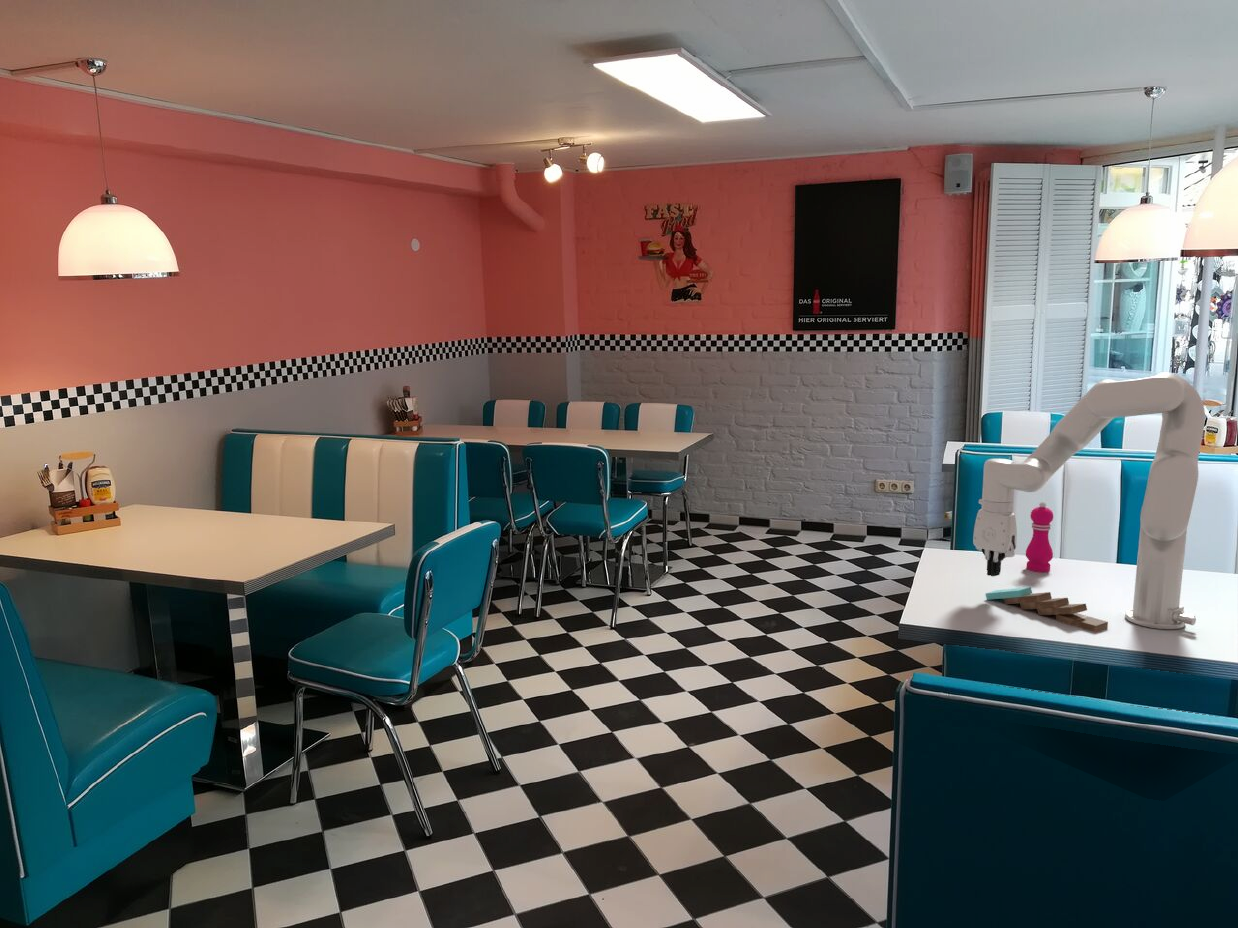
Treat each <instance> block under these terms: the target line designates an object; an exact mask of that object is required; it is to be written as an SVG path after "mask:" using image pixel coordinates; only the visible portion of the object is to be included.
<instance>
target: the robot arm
mask: <svg viewBox="0 0 1238 928" xmlns="http://www.w3.org/2000/svg"><path fill="white" fill-rule="evenodd" d="M1205 413H1206V412H1205V406H1204V402H1203V400H1202V397H1201V395H1200V394H1199V392H1198V390H1197V389H1196V388H1195V387H1194V386H1193V385H1192V383H1190V382H1188V381H1187V380H1186V379H1184V378H1182V377H1181V376H1179V375H1177V374H1176V373H1173V372H1168V371H1167V372H1163V371H1162V372H1158V373H1155V374H1153V375H1152V376H1150V377H1142V378H1136V379H1127V380H1119V381H1118V380H1114V379H1104V380H1100V381H1098V382H1096V383H1095V384H1093V386H1091V388H1090V389H1089V390H1088V391H1087V392H1086V393H1085V394H1084V395H1083V396H1082V397H1081V398H1080V399H1079V400H1078V401H1077V402H1076V403H1075V405H1074V406H1073V407H1072V408H1071V409H1070V410H1069V411H1068V412H1067V413H1066V414H1065V415H1064V416H1063V417H1062V418H1061V419H1060V420H1059V421H1058V422H1057V423H1056V424H1055V425H1054V427H1053V428H1052V430H1051V432H1050V433H1049V434H1048V436H1047V437H1046V438H1045V439H1044V440H1043V441H1042V442H1041V443H1040V444H1039V446H1037V447H1036V449H1034V450H1033V451H1032V452H1031V454H1030V455H1029V456H1027V458H1026V459H1025V460H1024V461H1022V462H1020V463H1018V462H1016V463H1015V462H1014V461H1013V460H1011V459H1007V458H988V459H987V460H985V462H984V465H983V476H982V479H983V480H982V495H981V497H982V498H980V499H978V504H980V505H981V509H978V511H977V513H976V517H975V521H974V522H975V523H974V528H973V538H972V539H973V540H972V543H973V546H975V549H976V550H977V551H979V552H982V554H983V556H984V559H985V560H986V575H987V576H988V577H989V576H990V577H996V576H1000V574H1001V569H1002V568H1001V567H1002V561H1004V559H1006V558H1012V557H1015V550H1016V548H1017V543H1018V542H1017V540H1018V537H1017V536H1018V534H1017V533H1018V532H1017V519H1016V514H1015V513H1014V502H1015V501H1014V498H1015V490H1017V491H1020V492H1024V493H1025V492H1026V493H1035V492H1038V491H1039V490H1042V488H1044V487H1045V485H1046V483H1047V482H1048V480H1050V479H1051V478H1052V477H1053V476H1054V475H1055V473H1056V472H1057V471H1058V470H1060V469H1061V467H1063V466H1064V465H1065V464H1066V463H1067V461H1068V460H1070V459H1071V458H1072V457H1073V456H1074V455H1075V454H1077V453H1078V452H1080V451H1082V450H1083V449H1084V448H1086V446H1088V445H1089V444H1090V443H1091V441H1093V440H1094V439H1095V437H1097V435H1098V434H1100V432H1102V430H1103V429H1105V427H1107V426H1108V424H1109V423H1111V421H1112V420H1113V419H1115V418H1116V419H1117V418H1127V417H1137V416H1144V415H1145V416H1146V415H1147V416H1148V415H1155V414H1161V418H1162V419H1161V426H1160V430H1159V438H1158V442H1157V445H1156V446H1157V447H1156V451H1155V455H1154V458H1153V460H1152V461H1151V465H1150V468H1149V472H1148V478H1147V482H1146V483H1147V484H1146V489H1145V493H1144V498H1143V503H1142V506H1141V510H1140V517H1139V518H1140V519H1139V520H1140V527H1139V528H1140V529H1139V539H1138V551H1137V558H1136V559H1137V561H1136V569H1135V570H1136V571H1135V583H1134V592H1133V593H1134V594H1133V604H1132V608H1130V609H1128V610H1127V609H1126V611H1125V614H1124V617H1125V618H1126V620H1128V622H1131V623H1133V624H1136V625H1138V626H1143V627H1146V628H1151V629H1158V630H1178V629H1182V628H1184V627H1185V626H1186V625H1190V626H1195V625H1196V621H1197V619H1196V615H1195V614H1191V613H1186V612H1185V610H1184V608H1185V607H1184V605H1180V602H1181V593H1182V584H1183V580H1182V579H1183V572H1184V562H1185V553H1186V542H1187V534H1188V533H1187V532H1188V531H1187V530H1188V526H1189V523H1190V518H1191V513H1192V509H1193V504H1194V500H1195V495H1196V491H1197V486H1198V481H1199V457H1200V456H1199V455H1200V452H1201V451H1200V450H1201V446H1202V440H1203V435H1204V430H1205V421H1206V414H1205Z"/></svg>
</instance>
